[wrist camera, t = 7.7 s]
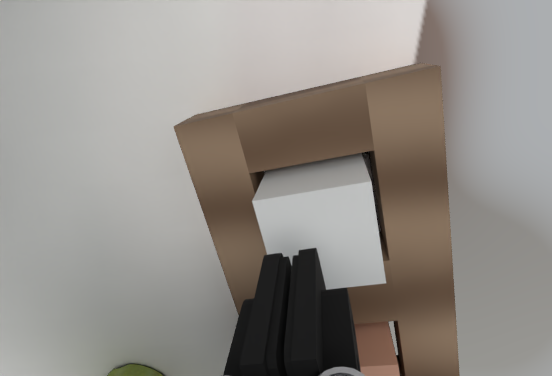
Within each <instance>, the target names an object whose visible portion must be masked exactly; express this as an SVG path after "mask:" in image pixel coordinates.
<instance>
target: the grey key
mask: <svg viewBox="0 0 552 376" xmlns="http://www.w3.org/2000/svg"><path fill="white" fill-rule="evenodd" d="M252 203H253V206H254V210H255V213H256V217H257V220H258V224H259V227H260V231H261V234H262V238H263V241H264V245H265V248H266V252H267V255H268V254H275V253H282V255H283V257H287V256H288V257H289V259H290V262H291V266H292V259H293V256H294V255H298V252H299V250H303V249H310V248H316V249H317V252H318V256H319V260H320V265H321V269H322V273H323V278H324V282H325V286H326V290H328V289H337V288H346V287H356V286H365V285H375V284H384V283H386V278H385V271H384V264H383V257H382V251H381V244H380V237H379V230H378V223H377V216H376V210H375V203H374V196H373V189H372V182H371V179H370V176H369V173H368V170H367V168H366V165H365V162H364V159H363V156H362V153H357V154H352V155H346V156H341V157H335V158H330V159H325V160H319V161H314V162H308V163H303V164H298V165H292V166H287V167H282V168H276V169H271V170H266V172H265V174H264V177H263V179H262V181H261V183H260V185H259V187H258V190H257V192H256V194H255V196H254V198H253V200H252Z"/></svg>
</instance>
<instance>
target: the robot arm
mask: <svg viewBox="0 0 552 376" xmlns="http://www.w3.org/2000/svg"><path fill="white" fill-rule="evenodd" d="M223 376H365V375H364V374H363V373H361V369H360V362H359V354H358V347H357V340H356V333H355V326H354V320H353V314H352V309H351V304H350V299H349V294H348V289H347V287H346V288H337V289H329V290H326V286H325V282H324V278H323V273H322V269H321V265H320V260H319V256H318V252H317V249H316V248H310V249H303V250H299V252H298V255H294V256H293V259H292V266H291V262H290V259H289V257H288V256H287V257H283V255H282V253H275V254H268V255H264V257H263V261H262V266H261V270H260V275H259V279H258V283H257V288H256V292H255V297H254V298H253V299H245V300H244V301H243V304H242V307H241V310H240V314H239V318H238V322H237V325H236V329H235V333H234V337H233V341H232V344H231V348H230V352H229V356H228V359H227V363H226V367H225V371H224V375H223Z"/></svg>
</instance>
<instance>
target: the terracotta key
mask: <svg viewBox="0 0 552 376" xmlns="http://www.w3.org/2000/svg"><path fill="white" fill-rule="evenodd" d="M354 326H355V333H356V340H357V347H358V354H359V362H360V369H361V373H363V374H364V375H365V376H400V373H399V367H398V362H397V357H396V353H395V349H394V345H393V341H392V336H391V333H390V327H389V323H388V321H386V322H374V323H362V324H354Z"/></svg>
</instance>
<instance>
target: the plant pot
mask: <svg viewBox="0 0 552 376" xmlns="http://www.w3.org/2000/svg"><path fill="white" fill-rule="evenodd" d="M107 376H163V375H162V374H160V373H159V372H157V371H155V370H153V369H151V368H148V367H145V366H142V365H136V364H128V365H126V366H124V367H121V368H118V369H113V370H112V371H111V372H110V373H109V374H108V375H107Z"/></svg>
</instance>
